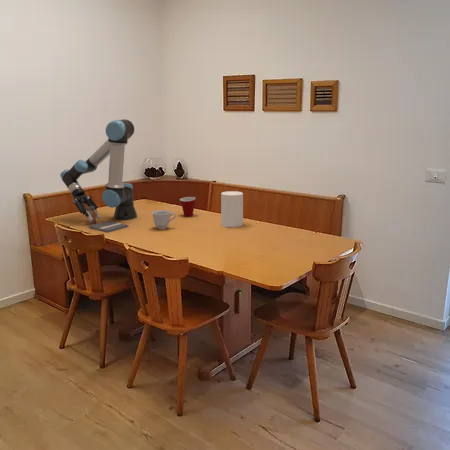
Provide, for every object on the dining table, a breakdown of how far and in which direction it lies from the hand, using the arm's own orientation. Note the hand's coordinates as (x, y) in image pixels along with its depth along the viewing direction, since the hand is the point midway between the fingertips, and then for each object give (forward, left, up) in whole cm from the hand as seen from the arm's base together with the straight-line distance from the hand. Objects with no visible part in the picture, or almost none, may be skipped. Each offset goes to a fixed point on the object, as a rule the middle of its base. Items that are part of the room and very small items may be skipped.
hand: (95, 219), depth 307 cm
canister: (-50, +70, -3) cm, 86 cm away
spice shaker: (0, -4, -3) cm, 5 cm away
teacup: (-19, +41, -3) cm, 46 cm away
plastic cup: (-52, +32, -3) cm, 61 cm away
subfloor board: (0, +12, -3) cm, 13 cm away
